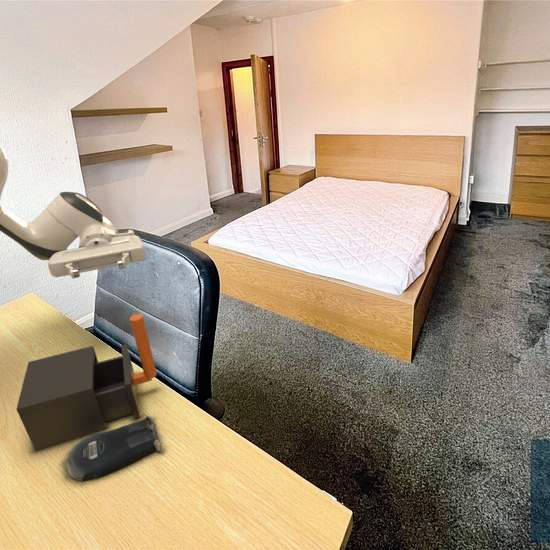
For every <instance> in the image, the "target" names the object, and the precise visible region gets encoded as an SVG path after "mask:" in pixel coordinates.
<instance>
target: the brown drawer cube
mask: <svg viewBox="0 0 550 550" xmlns="http://www.w3.org/2000/svg"><path fill="white" fill-rule="evenodd" d="M97 362H99V359H98V357H97V353H96V349H95V347H94V345H90V346H85V347H83V348H78V349H75V350H71V351H67V352H62V353H58V354H54V355H50V356H47V357H43V358H39V359H34V360H31V361H28V363H27V366H26V370H25V374H24V378H23V382H22V385H21V390H20V394H19V397H18V401H17V405H16V410H15V411H16V412H17V414H18V416H19V418H20V420H21V422H22V425H23V427H24V429H25V431H26V433H27V435H28V438H29V440H30V442H31V444H32V447H33V449H34V451H35V452H38V451H42V450H44V449H48V448H51V447H54V446H57V445H60V444H64V443H66V442H70V441H73V440H77V439H80V438H82V437H87V436H91V435H94V434H97V433H100V432H101V431H102V432H103V431H105V430H107V421H106V422H105V421H104V418H103V415H102V412H101V409H100V406H99V403H98V400H97V397H96V394H95V391H94V363H97Z"/></svg>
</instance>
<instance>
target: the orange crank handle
mask: <svg viewBox="0 0 550 550" xmlns="http://www.w3.org/2000/svg"><path fill="white" fill-rule="evenodd" d="M129 321H130V325H131V330H132V334H133V338H134V341H135V344H136V349H137V353H138V356H139V359H140V364H141V367H142V371H141V372H138V373H135V371H134V367H133V364H132V360H131V356H130V352H129V349H128V345H127V343H126V344H121V355H120V356H116V357H113V358H109V359H104V360H101V361H98V362H97V363H94V391H95V394H96V397H97V400H98V403H99V406H100V409H101V412H102V415H103V418H104V421H105V422H106V423H107V422H109V421H112V420H116V419H119V418H122V417H125V416H129V415H132V414H133V418H134V419H137V418H140V417H141V415H140V414H141V413H140V407H139V399H138V390H137V386H138V385H141V384H145V383H149V382H151V381H153V379H154V378H156V377H157V374H158V372H157V369H156V365H155V364H156V363H155V361H154V356H153V352H152V348H151V344H150V340H149V335H148V332H147V328H146V324H145V319H144V315H143V314H141V313H135V314H132V315H131V316H130V317H129Z"/></svg>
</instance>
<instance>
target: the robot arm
mask: <svg viewBox="0 0 550 550" xmlns="http://www.w3.org/2000/svg"><path fill="white" fill-rule="evenodd" d="M8 175H9V161H8V156H7V154H6V152H5V150H4V149H3V147H2V146H1V145H0V200H1V198H2V195H3V191H4V188H5V186H6V183H7V181H8ZM0 233H3V234H4V235H6V237H9V238H10V239H11V240H13V241H15V242H16V243H17V244H19V245H20V246H21V247H22V248H24V249H25V250H26V251H27V252H28V253H30V255H32V256H33V257H35V258H37V259H39V260H41V261H47V267H48V270H49V273H50V275H51V277H53V278H61V277H66V276H70V277H71V279H72V280H73V279H78V278H81V274H82V273H86V272H92V271H98V270H102V269H107V268H113V267H118V269H119V270H123V269H127V266H128V265H130V264H132V263H137V262H143V261H145V260H146V259H147V254H146V249H145V244H144V242H143V241H142V239H141V238H140V237H139V235H138V236H137V235H136V234H135V231H134V230H132V229H117V230H116V227H115V226H114V224H113V223H112V221H110V220H109V219H108V218H107V217H105V216H104V215H103V212H102V210H101V208H100V207H98V205H96V203H94V201H92V200H91V199H90V198H88V197H87V196H85V195H84V194H81V193H79V192H74V191H60V192H59V194H58V195H57V196H55V198H54V199H52V200H51V202H50V203H48V205H47V206H46V207H45V208H44V209H43V210H42V211H41V212H40V213H39V215H37V216H36V217H35V218H34V220H32V221H30V222H24V221H23V220H21V219H20V218H19V217H17V216H16V215H15V214H13V213H12V212H10V211H9V210H8V209H6V208H5V207H4V206H3V205H2V204H0ZM78 238H79V242H78V247H76V248H70V249H68V248H69V247H70V245H72V243H73V242H74V241H76V240H77V239H78Z"/></svg>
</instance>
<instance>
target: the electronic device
mask: <svg viewBox="0 0 550 550" xmlns="http://www.w3.org/2000/svg"><path fill="white" fill-rule="evenodd" d="M155 452H161V443H160V442H159V438H158V435H157V432H156V424H155V422H154V421H153V418H152V416H151V414H149V413H148V414H147V415H146V416H145V417H144V418H142V419H140V420H137V421H135V422H132V423H129V424H127V425H123V426H120V427H117V428H114V429H111V430H107V431H102V432H97V433H93V434H90V435H88V436H86V437H85V438H83V439H82V440H80V441H78V442H77V443H76V444H75V445H74V446H73V447H72V448H71V449H70V451H69V454H68V457H67V459H66V460H65V461H66V462H65V464H66V468H67V472H68V476H69V477H70V478H73V479H74V480H76V481H80V482H85V481H89V480H94V479H99V478H100V477H105V476H106V475H109V474H111V473H114V472H116V471H119V470H121V469H123V468H125V467H128V466H130V465H132V464H135V463H137V462H138V461H140V460H142V459H143V458H145V457H147V456H149V455H151V454H153V453H155Z"/></svg>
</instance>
